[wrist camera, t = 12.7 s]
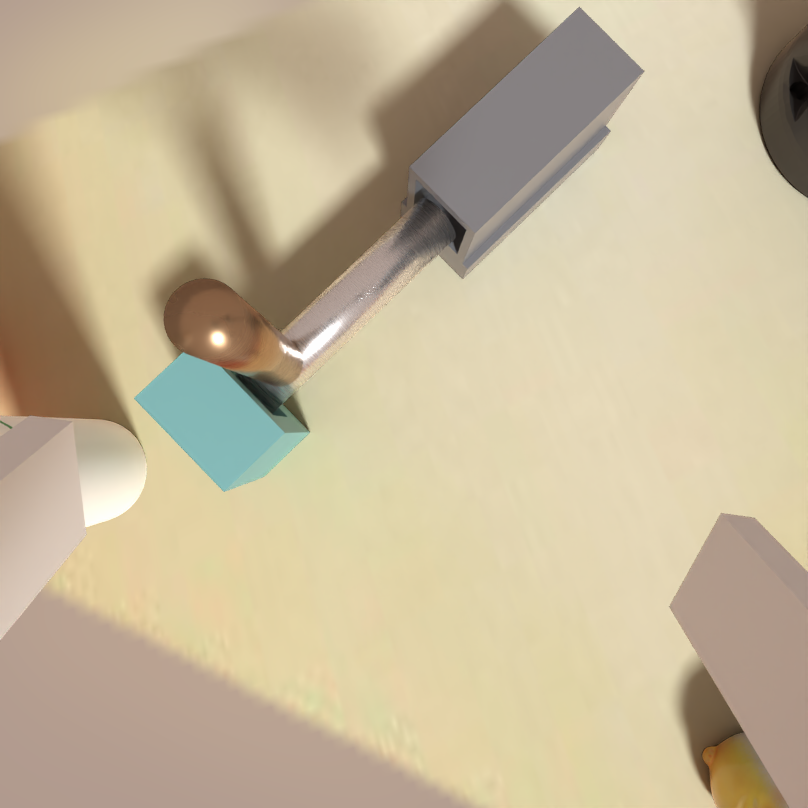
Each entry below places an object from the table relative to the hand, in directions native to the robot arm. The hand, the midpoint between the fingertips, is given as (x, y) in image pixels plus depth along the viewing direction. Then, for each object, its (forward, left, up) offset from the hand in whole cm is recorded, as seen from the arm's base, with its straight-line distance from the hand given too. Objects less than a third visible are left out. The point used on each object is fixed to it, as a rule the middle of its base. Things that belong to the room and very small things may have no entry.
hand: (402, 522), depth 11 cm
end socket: (+9, +5, -26) cm, 28 cm away
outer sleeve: (+9, -19, -26) cm, 33 cm away
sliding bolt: (+9, -3, -22) cm, 24 cm away
